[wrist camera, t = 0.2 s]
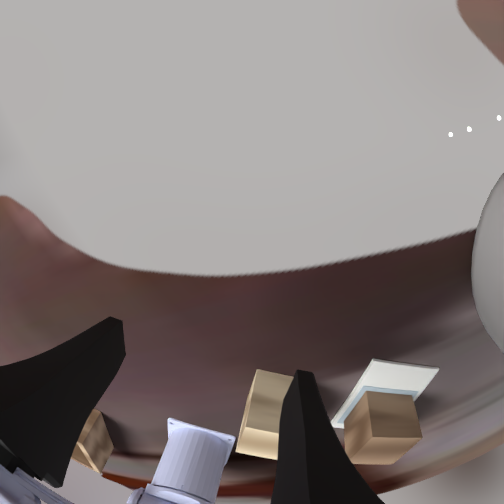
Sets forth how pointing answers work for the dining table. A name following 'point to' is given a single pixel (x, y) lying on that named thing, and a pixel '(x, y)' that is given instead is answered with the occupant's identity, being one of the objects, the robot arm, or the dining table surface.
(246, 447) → the maple block
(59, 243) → the dining table surface
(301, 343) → the dining table surface
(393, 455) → the walnut block
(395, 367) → the white flat plate
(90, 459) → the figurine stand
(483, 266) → the jar
